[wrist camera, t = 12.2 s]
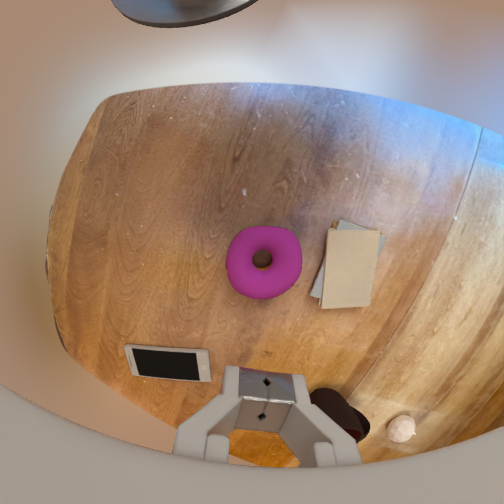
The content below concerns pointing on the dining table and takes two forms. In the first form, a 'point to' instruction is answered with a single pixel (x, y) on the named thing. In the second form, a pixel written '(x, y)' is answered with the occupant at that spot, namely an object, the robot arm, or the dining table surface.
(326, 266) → the letter pile
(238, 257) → the donut
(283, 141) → the dining table surface
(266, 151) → the dining table surface
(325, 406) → the cup
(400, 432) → the ornament
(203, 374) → the smartphone
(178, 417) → the dining table surface
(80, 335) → the dining table surface
